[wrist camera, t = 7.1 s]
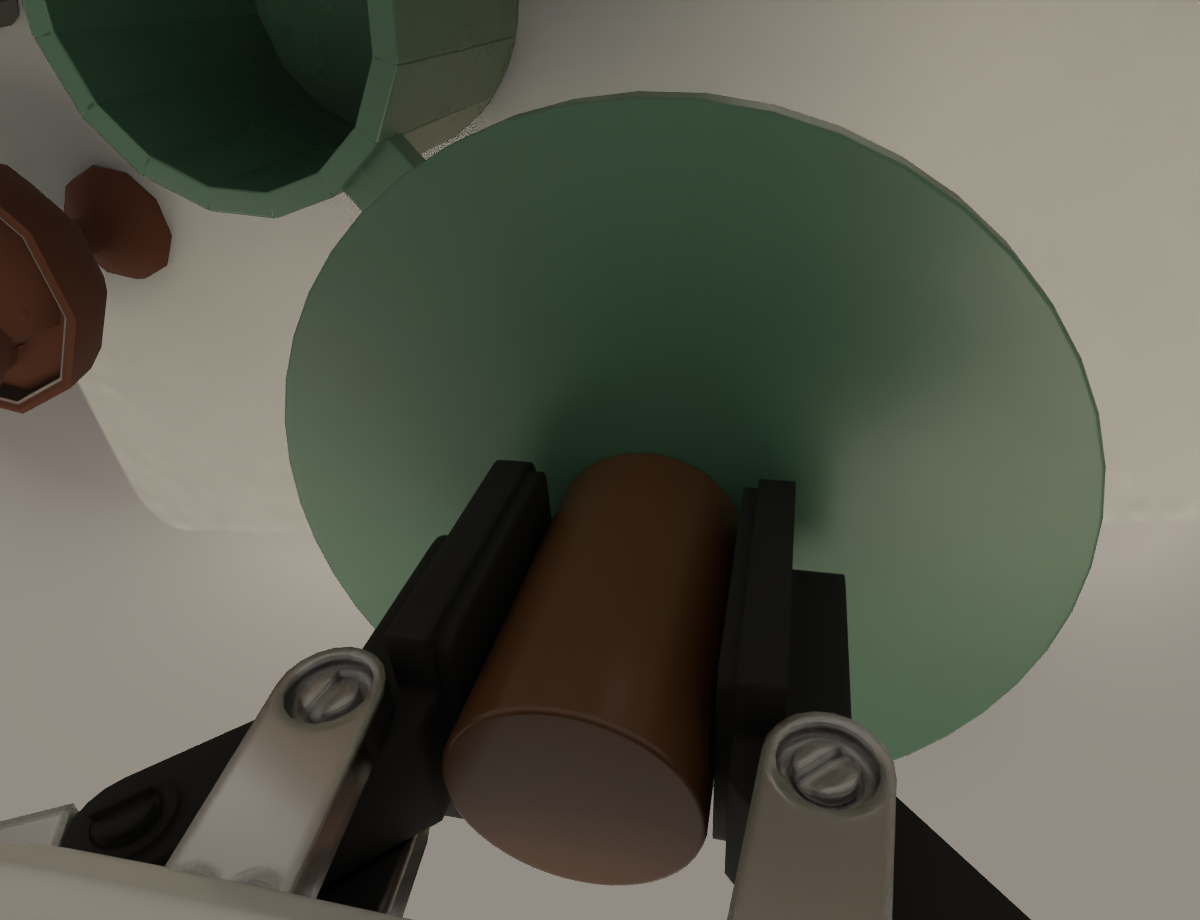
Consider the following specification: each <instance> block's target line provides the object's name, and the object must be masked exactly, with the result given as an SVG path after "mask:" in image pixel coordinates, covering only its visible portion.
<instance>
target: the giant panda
mask: <svg viewBox="0 0 1200 920" xmlns="http://www.w3.org/2000/svg"><path fill="white" fill-rule="evenodd" d="M17 17H18V7H17V0H0V27H4V26H10V25H12V24H13V22H14V21H15V20H16V18H17Z"/></svg>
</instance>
